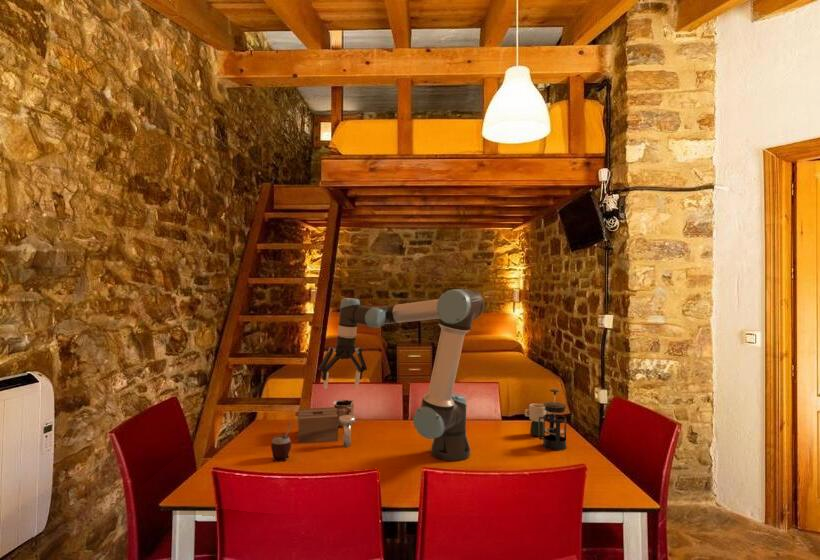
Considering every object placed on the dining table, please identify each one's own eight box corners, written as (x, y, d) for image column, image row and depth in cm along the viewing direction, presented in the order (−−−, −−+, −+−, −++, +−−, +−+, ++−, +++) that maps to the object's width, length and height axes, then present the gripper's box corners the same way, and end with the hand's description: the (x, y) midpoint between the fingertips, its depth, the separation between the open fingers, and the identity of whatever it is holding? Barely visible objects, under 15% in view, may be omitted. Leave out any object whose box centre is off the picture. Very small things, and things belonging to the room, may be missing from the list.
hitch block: (337, 440, 200) (338, 416, 200) (298, 443, 196) (298, 418, 197) (334, 429, 216) (335, 407, 216) (298, 431, 212) (298, 409, 212)
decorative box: (322, 427, 219) (322, 406, 219) (331, 416, 239) (332, 396, 239) (350, 428, 218) (351, 407, 218) (358, 416, 238) (358, 397, 238)
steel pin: (355, 447, 192) (356, 418, 192) (339, 448, 190) (340, 419, 190) (353, 442, 198) (354, 414, 198) (338, 443, 197) (338, 415, 197)
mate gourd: (267, 458, 178) (268, 418, 179) (286, 453, 184) (287, 414, 184) (277, 464, 173) (278, 422, 173) (296, 459, 179) (297, 418, 179)
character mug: (549, 433, 213) (549, 404, 213) (551, 438, 206) (551, 408, 206) (524, 432, 215) (524, 402, 215) (525, 436, 208) (525, 406, 208)
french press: (564, 442, 200) (564, 387, 201) (571, 450, 191) (571, 392, 191) (536, 442, 201) (536, 387, 201) (541, 450, 191) (542, 392, 192)
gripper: (370, 334, 205) (365, 383, 206) (314, 333, 193) (308, 385, 193) (378, 338, 198) (372, 389, 199) (320, 337, 186) (314, 391, 187)
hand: (341, 387), depth 196 cm, fingers open, 13 cm apart
